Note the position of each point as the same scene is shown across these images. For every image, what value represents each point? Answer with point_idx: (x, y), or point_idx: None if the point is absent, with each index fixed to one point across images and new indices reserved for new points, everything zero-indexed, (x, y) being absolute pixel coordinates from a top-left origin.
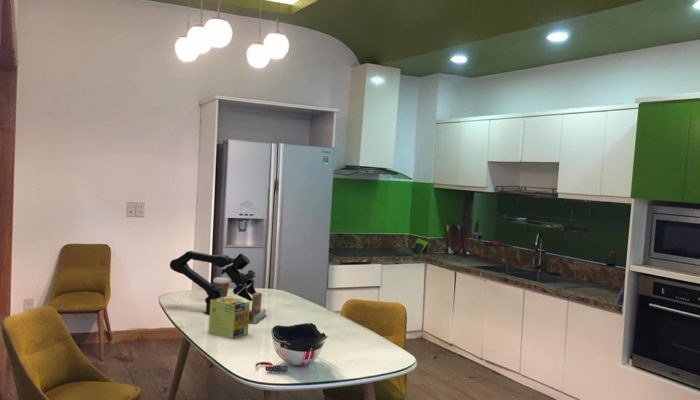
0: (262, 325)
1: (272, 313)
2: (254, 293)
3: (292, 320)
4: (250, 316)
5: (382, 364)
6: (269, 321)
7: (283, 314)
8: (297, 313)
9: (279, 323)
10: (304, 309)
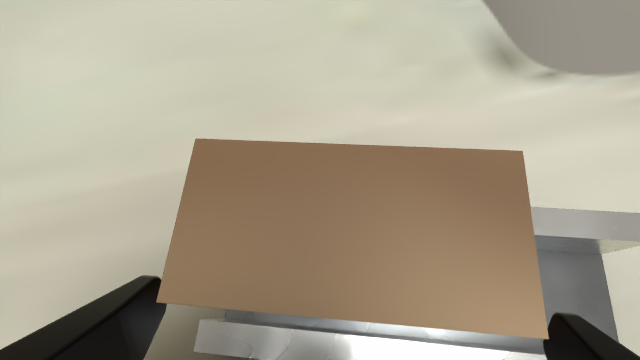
0: (586, 162)
1: (144, 174)
2: (339, 312)
3: (328, 7)
4: (385, 335)
5: None
6: (423, 139)
7: (165, 92)
8: (122, 18)
9: (451, 61)
10: (5, 4)
